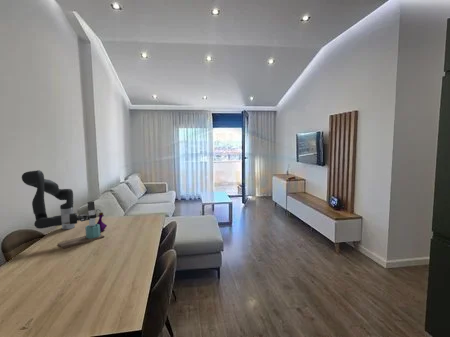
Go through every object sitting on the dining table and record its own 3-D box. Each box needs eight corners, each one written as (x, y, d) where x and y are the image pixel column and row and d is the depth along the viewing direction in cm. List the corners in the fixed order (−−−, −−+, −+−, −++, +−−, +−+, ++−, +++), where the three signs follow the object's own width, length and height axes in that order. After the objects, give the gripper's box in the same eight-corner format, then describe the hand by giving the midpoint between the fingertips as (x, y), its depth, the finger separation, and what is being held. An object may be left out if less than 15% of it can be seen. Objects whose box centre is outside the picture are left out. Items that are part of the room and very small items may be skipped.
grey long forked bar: (89, 233, 192) (87, 201, 190) (96, 232, 194) (94, 201, 192) (89, 234, 189) (87, 202, 187) (96, 233, 191) (94, 202, 189)
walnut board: (58, 244, 180) (57, 243, 180) (97, 233, 200) (97, 232, 200) (63, 248, 172) (63, 247, 172) (104, 237, 192) (104, 236, 192)
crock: (84, 236, 192) (83, 226, 191) (97, 233, 198) (96, 223, 198) (89, 239, 186) (88, 228, 185) (102, 235, 192) (101, 225, 192)
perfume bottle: (107, 229, 211) (105, 207, 209) (102, 232, 203) (100, 210, 202) (98, 229, 212) (97, 207, 210) (93, 232, 204) (91, 210, 202)
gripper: (68, 216, 177) (96, 212, 185) (69, 211, 190) (95, 208, 198) (69, 226, 178) (96, 223, 186) (70, 221, 190) (96, 218, 198)
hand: (96, 215), depth 192 cm, fingers closed on grey long forked bar, 3 cm apart
